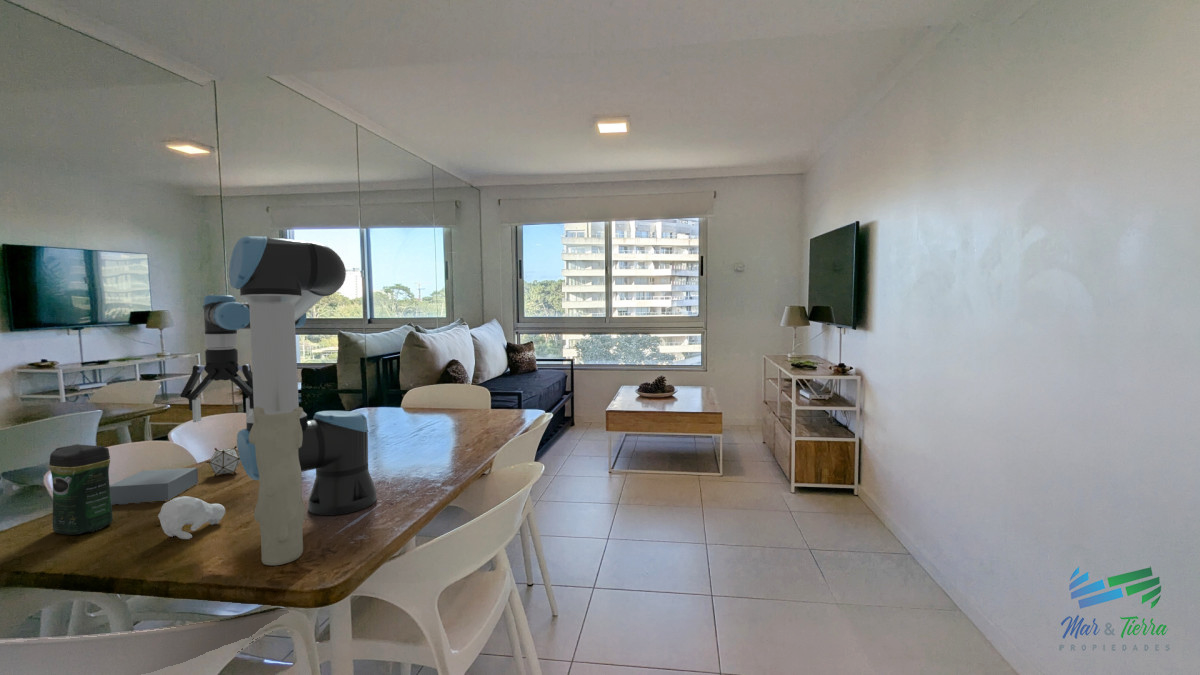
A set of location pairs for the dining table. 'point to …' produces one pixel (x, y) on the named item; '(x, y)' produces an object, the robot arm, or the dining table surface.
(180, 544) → the dining table surface
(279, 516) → the vase
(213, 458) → the game die
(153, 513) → the dining table surface
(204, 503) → the white animal figurine
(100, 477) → the coffee jar
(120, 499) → the grey square block
